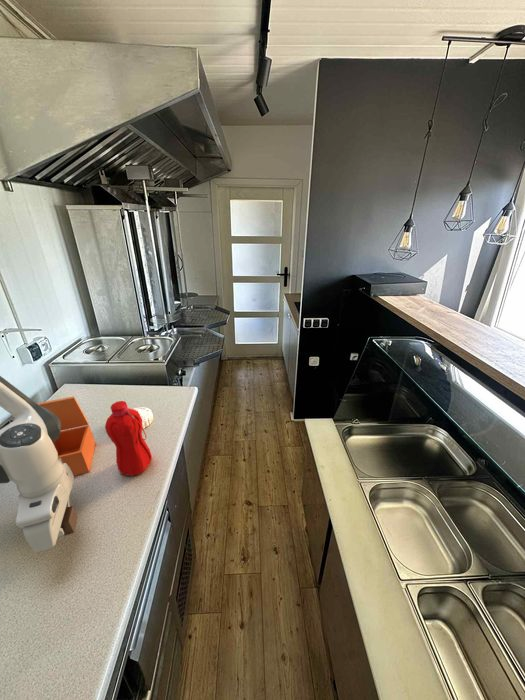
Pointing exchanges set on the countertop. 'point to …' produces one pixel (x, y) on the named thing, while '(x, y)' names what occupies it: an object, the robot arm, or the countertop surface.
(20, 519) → the robot arm
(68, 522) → the block
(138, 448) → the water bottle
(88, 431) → the box
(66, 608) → the countertop surface
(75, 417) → the box lid
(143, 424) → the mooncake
